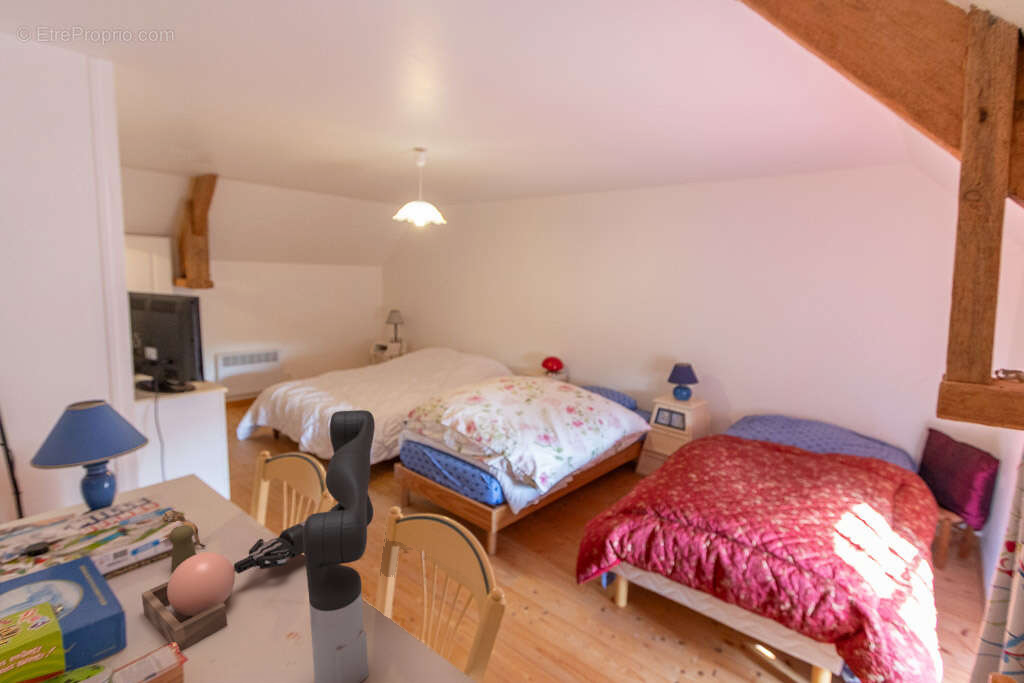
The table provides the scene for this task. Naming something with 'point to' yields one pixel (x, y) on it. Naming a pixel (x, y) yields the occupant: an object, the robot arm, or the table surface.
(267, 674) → the table surface
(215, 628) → the stall
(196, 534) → the lion figurine
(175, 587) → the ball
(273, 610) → the table surface
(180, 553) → the cork
